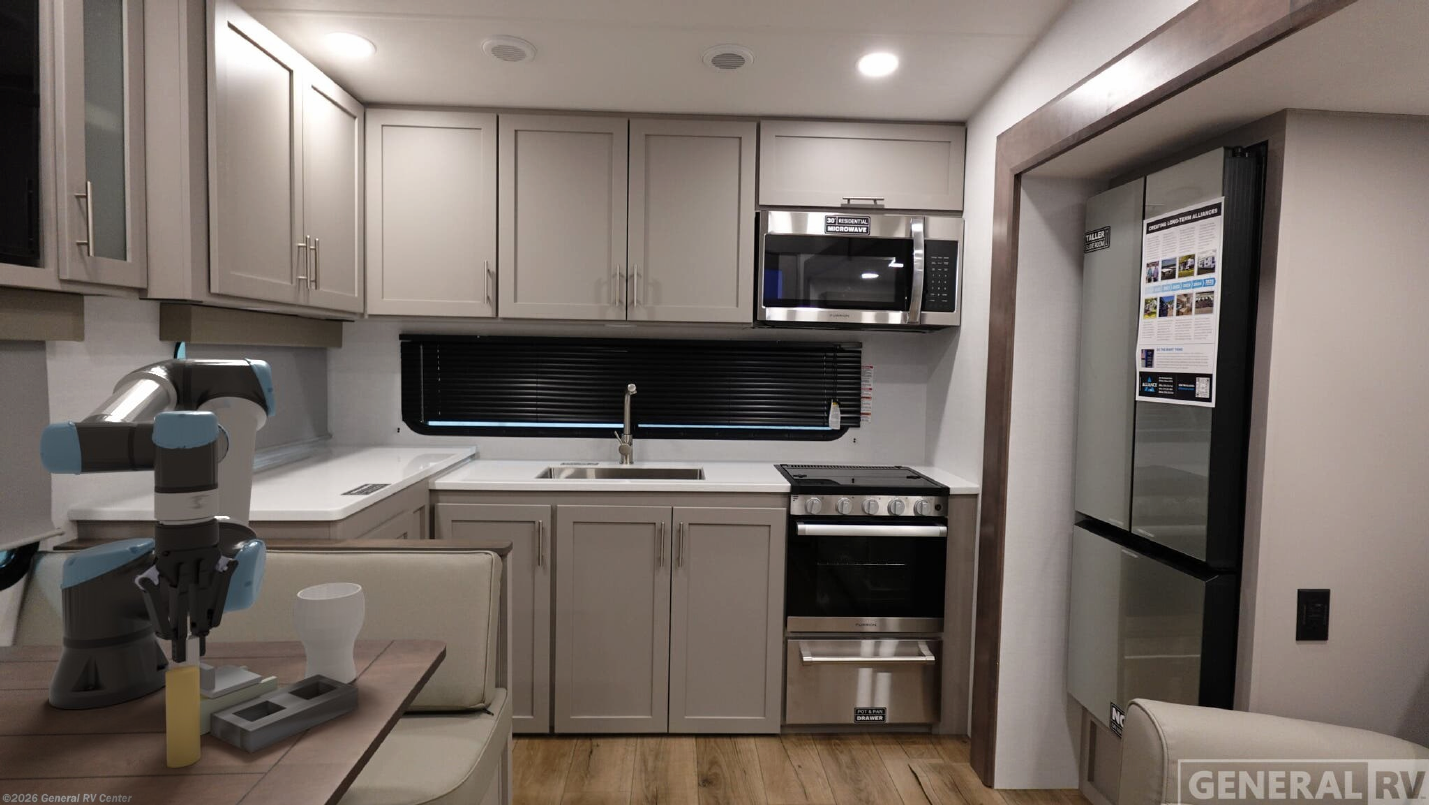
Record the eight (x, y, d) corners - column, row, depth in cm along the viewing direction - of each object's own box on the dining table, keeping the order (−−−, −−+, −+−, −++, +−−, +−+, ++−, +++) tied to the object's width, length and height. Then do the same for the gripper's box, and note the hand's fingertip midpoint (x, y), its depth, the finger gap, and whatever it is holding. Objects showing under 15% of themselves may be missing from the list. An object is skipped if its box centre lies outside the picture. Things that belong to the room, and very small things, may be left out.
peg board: (210, 734, 105) (210, 713, 105) (318, 692, 119) (318, 674, 119) (250, 753, 100) (250, 731, 100) (358, 707, 114) (358, 688, 114)
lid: (179, 685, 111) (178, 659, 110) (228, 669, 117) (228, 645, 116) (212, 698, 106) (211, 672, 106) (262, 681, 112) (261, 656, 112)
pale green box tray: (166, 720, 109) (165, 690, 109) (244, 692, 119) (243, 665, 119) (198, 735, 105) (198, 705, 105) (277, 705, 114) (276, 677, 114)
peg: (161, 763, 97) (160, 672, 97) (191, 751, 101) (190, 663, 100) (175, 770, 96) (174, 678, 95) (206, 758, 99) (205, 669, 98)
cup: (336, 696, 118) (335, 602, 117) (278, 690, 120) (277, 597, 119) (379, 670, 128) (378, 584, 128) (325, 665, 130) (324, 579, 130)
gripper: (147, 530, 99) (149, 704, 100) (249, 515, 110) (250, 671, 111) (120, 523, 103) (123, 692, 104) (222, 509, 114) (223, 661, 115)
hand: (189, 681), depth 108 cm, fingers closed
